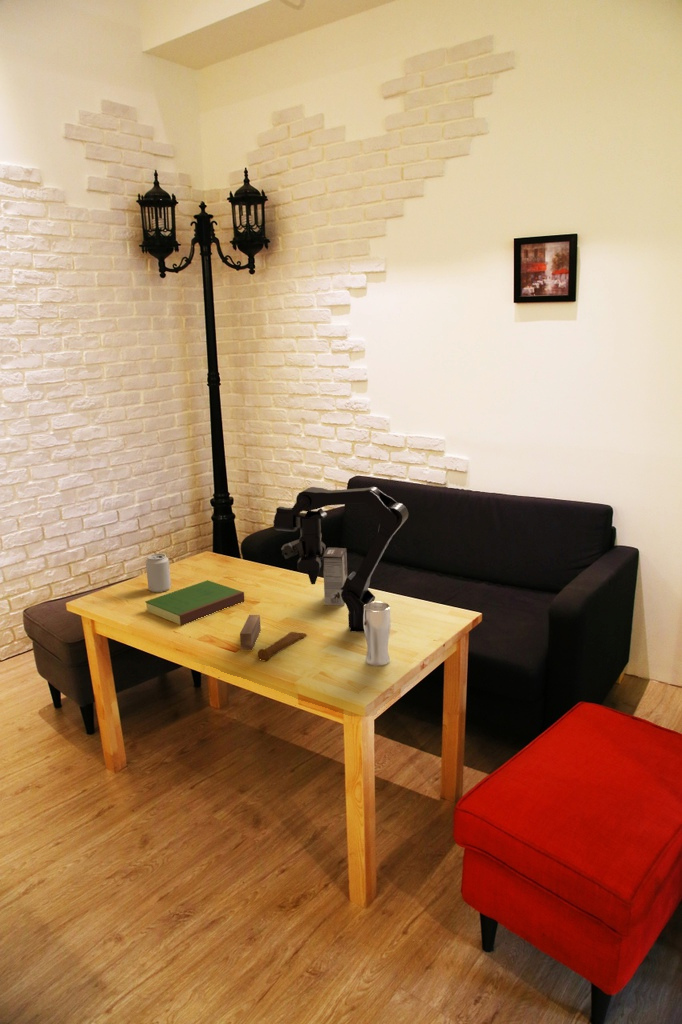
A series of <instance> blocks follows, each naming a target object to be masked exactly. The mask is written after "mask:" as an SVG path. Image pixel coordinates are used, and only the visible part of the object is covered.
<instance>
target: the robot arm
mask: <svg viewBox="0 0 682 1024" xmlns="http://www.w3.org/2000/svg"><path fill="white" fill-rule="evenodd" d="M359 504H367V505H368V506H369V507H370V508H371V510H372V511H373V513H374V514H375V515H376V516H377V517H378V518H379V519H380V521H379V524H378V531H377V534H376V536H375V538H374V540H373V541H372V543H371V545H370V548H369V549H368V551H367V553H366V555H365V556H364V559H363V561H362V563H361V564H360V566H359V568H358V570H357V572H355V571H352V572H351V573H350V574H349V575H347V578H346V581H345V584H344V586H343V587H342V588H341V590H342V592H341V597H342V600H343V601H344V602H345V606H346V608H347V611H348V614H347V615H348V616H347V617H348V618H347V619H348V628H349V632H350V633H364V626H363V613H364V605H365V604H367V603H370V602H375V600H376V596H375V595H374V594H373V593H372V591H370V590H369V587H370V583H371V578H372V575H373V573H374V571H375V569H376V568H377V566H378V563H379V561H380V560H381V558H382V556H383V555H384V553H385V550H386V549H387V547H388V546H389V543H390V541H391V540H392V538H393V536H394V535H395V534H396V533H397V531H398V530H399V529H400V528H401V527H402V526H403V524H404V523H405V522H406V521H407V520H408V518H409V510H408V508H407V507H406V506H405V505H404V504H403V503H402V502H401V503H400V502H397V501H396V499H394V498H393V497H391V496H389V495H387V494H386V493H385V492H383V491H381V490H380V489H379V488H378V487H376V486H370V487H364V488H363V487H361V488H345V489H332V490H331V489H326V488H323V487H315V486H309V487H307V488H306V489H304V490H301V491H300V492H299V493H298V494H297V496H296V499H295V503H294V505H293V506H292V507H284V506H278V507H277V508H275V511H276V512H275V514H274V519H273V527H274V530H276V531H283V532H284V531H285V532H296V531H298V530H299V529H300V536H299V539H296V540H293V541H290V542H288V543H284V544H283V545H282V547H281V548H280V549H281V555H282V557H284V559H285V560H287V559H290V558H291V557H294V556H296V555H299V559H298V560H297V563H296V566H297V567H296V569H297V571H300V572H301V571H307V575H308V578H309V582H310V584H311V585H315V584H316V582H317V579H318V576H319V574H320V570H321V568H322V566H323V556H322V554H324V553H325V551H326V549H327V548H326V544H325V543H324V542H323V541H322V537H323V536H322V535H323V534H322V527H321V520H322V519H324V518H326V517H327V516H328V513H327V512H325V511H324V510H323V509H322V508H324V507H329V506H342V505H344V506H345V505H359Z"/></svg>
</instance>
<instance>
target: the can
mask: <svg viewBox="0 0 682 1024" xmlns="http://www.w3.org/2000/svg"><path fill="white" fill-rule="evenodd" d="M146 558H147V559H146V561H145V569H146V579H147V586H148V590H150V591H151V592H152V593H164V592H167V591H169V590H170V588H171V587H172V580H171V571H170V561H169V560H170V559H169V558H168V557H167V555H166V553H153V554H149V555H148V556H147V557H146ZM166 590H167V591H166ZM163 591H164V592H163Z"/></svg>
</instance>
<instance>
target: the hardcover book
mask: <svg viewBox="0 0 682 1024" xmlns="http://www.w3.org/2000/svg"><path fill="white" fill-rule="evenodd" d="M244 601H245V592H244V591H242V590H238V589H236V588H232V587H229V586H226V585H223V584H221V583H217V582H214V581H211V580H208V579H207V580H204V581H200V582H199V583H195V584H193V585H190V586H187V587H184V588H182V589H181V588H180V589H177V590H175V591H173V592H169V593H166V594H163V595H161V596H158V597H154V598H151V599H149V600H145V601H144V603H146V611H147V612H148V613H151V614H153V615H156V616H158V617H161V618H163V619H165V620H168V621H170V622H172V621H173V623H175V624H177V623H178V624H177V625H180V626H185V625H187V624H186V623H188V624H190V623H193V622H195V621H197V620H196V619H198V618H201V617H203V618H205V617H204V616H206V615H208V616H210V615H209V614H211V615H213V614H212V613H214V612H216V611H219V610H222V609H224V608H227V607H229V608H231V607H230V606H232V607H234V606H233V605H235V604H237V605H239V604H238V603H240V604H242V603H244ZM241 602H242V603H241ZM235 606H236V605H235ZM227 609H228V608H227ZM224 610H225V609H224ZM222 611H223V610H222ZM219 612H220V611H219ZM216 613H217V612H216ZM214 614H215V613H214ZM206 617H207V616H206ZM201 619H202V618H201ZM194 620H195V621H194ZM198 620H199V619H198ZM192 621H193V622H192ZM189 622H190V623H189ZM184 624H185V625H184Z"/></svg>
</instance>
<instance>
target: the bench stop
mask: <svg viewBox="0 0 682 1024" xmlns="http://www.w3.org/2000/svg"><path fill="white" fill-rule="evenodd" d="M261 629H262V628H261V614H249V615H248V616H247V619H246V621H245V622H244V625H243V627H242V629H241V631H240V632H239V642H240V651H241V650H252V649H253V650H254V648H253V647H255V646H256V643H257V641H258V639H257V638H259V636H260V634H261V632H260V631H262V630H261ZM259 633H260V634H259ZM256 640H257V641H256ZM255 642H256V643H255ZM253 650H252V651H253Z"/></svg>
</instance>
